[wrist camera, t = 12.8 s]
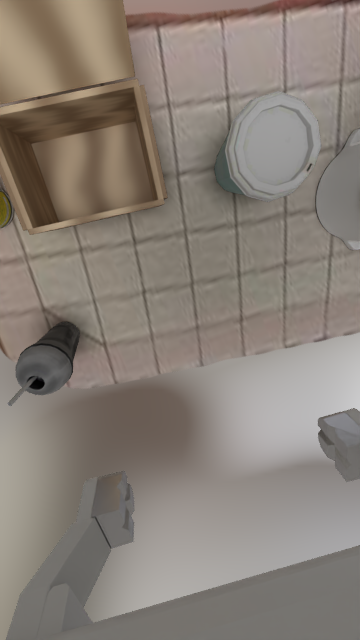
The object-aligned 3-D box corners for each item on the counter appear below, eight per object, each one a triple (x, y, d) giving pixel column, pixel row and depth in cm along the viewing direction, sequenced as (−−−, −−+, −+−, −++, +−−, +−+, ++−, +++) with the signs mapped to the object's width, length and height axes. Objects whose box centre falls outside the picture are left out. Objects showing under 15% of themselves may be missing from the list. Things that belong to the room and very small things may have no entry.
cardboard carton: (142, 115, 39) (142, 77, 28) (161, 205, 44) (168, 202, 33) (22, 141, 39) (-25, 112, 28) (55, 229, 43) (25, 235, 32)
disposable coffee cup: (189, 182, 43) (212, 167, 29) (224, 110, 40) (268, 57, 27) (244, 216, 46) (288, 218, 32) (281, 152, 43) (347, 123, 29)
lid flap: (135, 76, 28) (133, 71, 28) (99, -145, 17) (97, -150, 17) (-20, 108, 27) (-20, 103, 28) (-166, -99, 16) (-165, -105, 16)
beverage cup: (82, 356, 51) (49, 436, 33) (41, 346, 50) (-19, 426, 31) (91, 320, 49) (61, 386, 31) (48, 309, 47) (-11, 371, 29)
